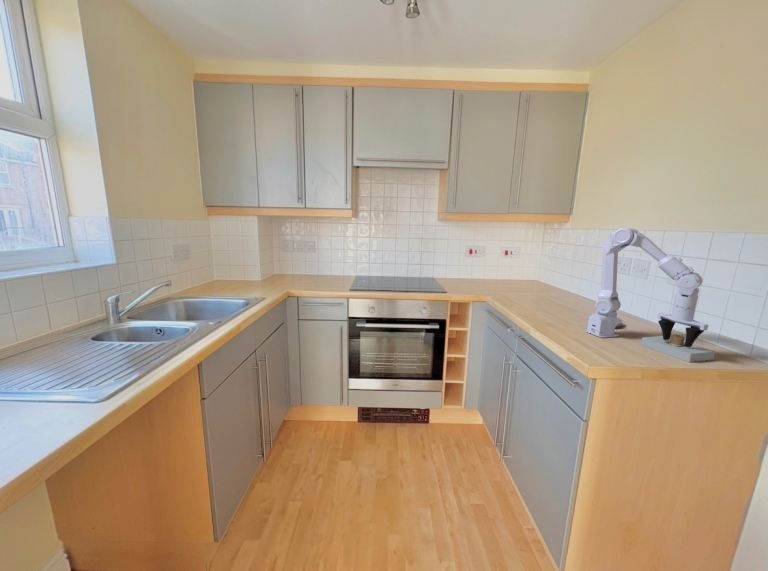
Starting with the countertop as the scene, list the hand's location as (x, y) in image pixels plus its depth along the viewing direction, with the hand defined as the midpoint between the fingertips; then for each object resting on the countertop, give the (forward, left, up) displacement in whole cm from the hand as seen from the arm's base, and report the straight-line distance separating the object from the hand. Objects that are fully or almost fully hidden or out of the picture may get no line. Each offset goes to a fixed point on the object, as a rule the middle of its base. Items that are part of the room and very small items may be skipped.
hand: (676, 343), depth 113 cm
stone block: (+6, +31, -4) cm, 32 cm away
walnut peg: (0, 0, -3) cm, 3 cm away
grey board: (0, 0, -3) cm, 3 cm away
